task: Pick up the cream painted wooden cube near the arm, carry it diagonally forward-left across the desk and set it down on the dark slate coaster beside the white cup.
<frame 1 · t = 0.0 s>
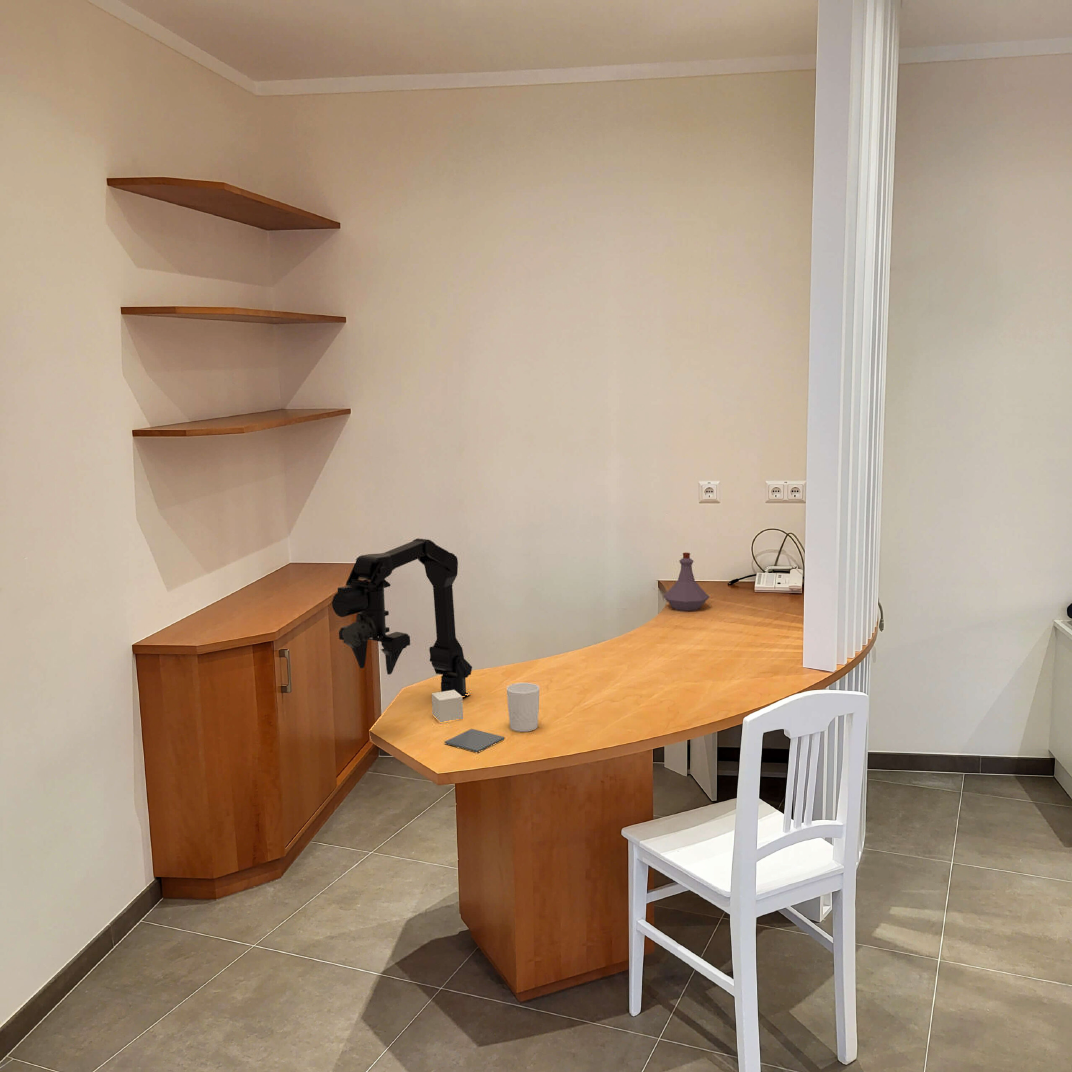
hand: (375, 671, 239), 15 cm above the table, tool pointing down, fingers open, 9 cm apart
cube: (447, 717, 248), on the table
coaster: (474, 741, 232), on the table
flask: (686, 608, 354), on the table
white cup: (523, 727, 241), on the table
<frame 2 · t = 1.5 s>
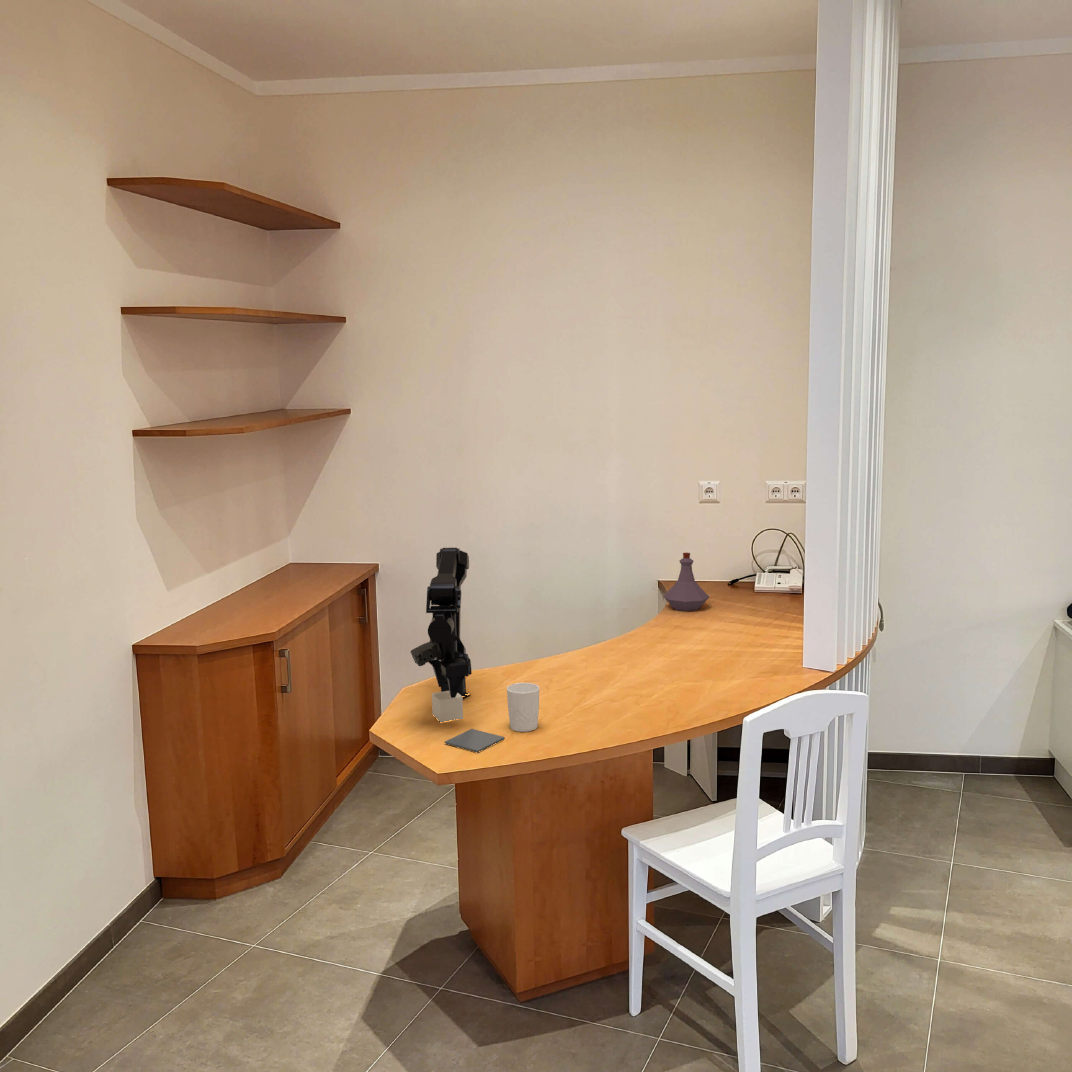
hand: (446, 692, 247), 7 cm above the table, tool pointing down, fingers open, 9 cm apart
nothing on the table moved.
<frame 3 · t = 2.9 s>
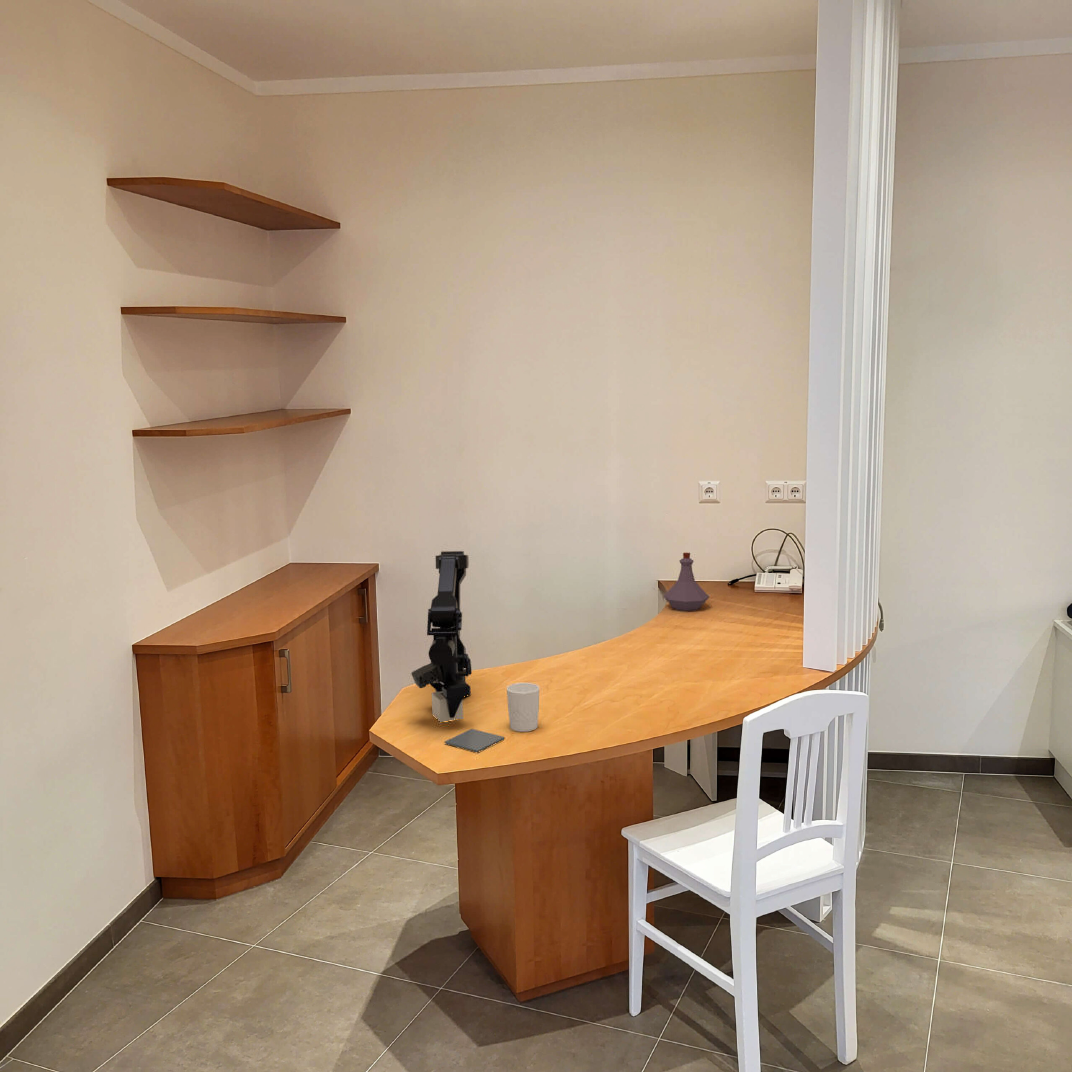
hand: (447, 713, 248), 1 cm above the table, tool pointing down, fingers closed on cube, 6 cm apart
cube: (447, 717, 248), on the table, touching gripper
everything else where it was.
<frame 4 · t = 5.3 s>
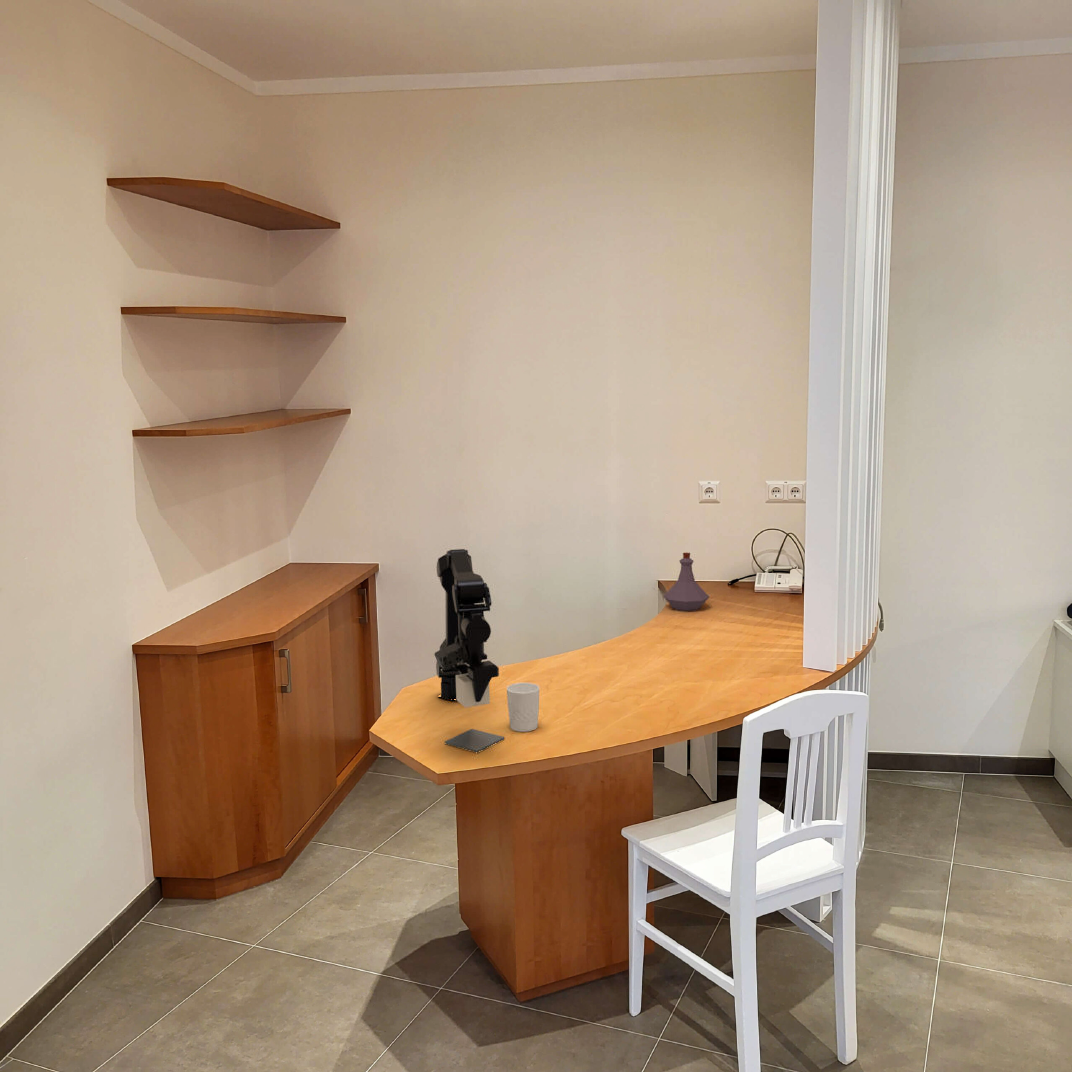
hand: (473, 697, 230), 11 cm above the table, tool pointing down, fingers closed on cube, 6 cm apart
cube: (473, 701, 230), point 10 cm above the table, touching gripper
everything else where it was.
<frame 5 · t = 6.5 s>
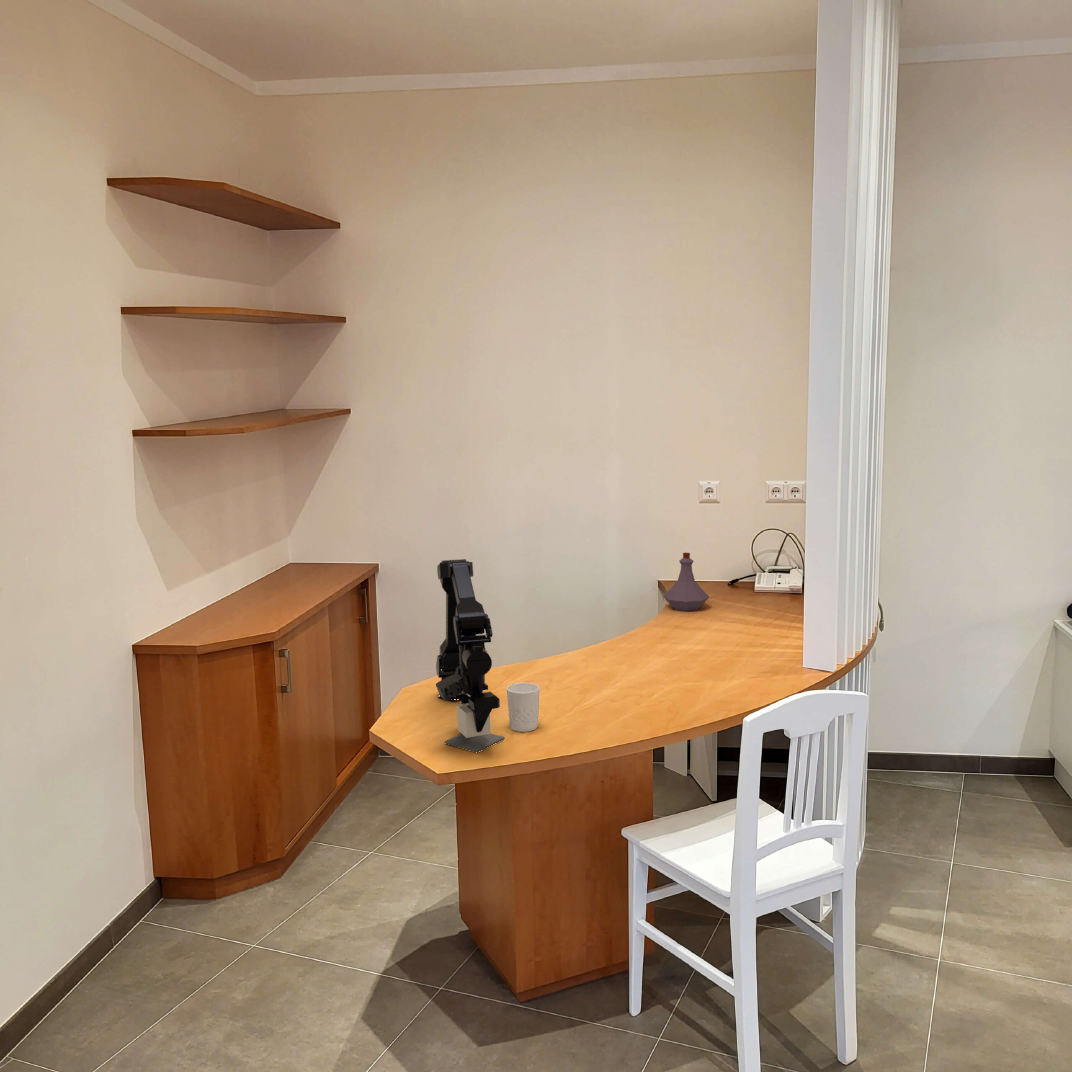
hand: (474, 727, 231), 3 cm above the table, tool pointing down, fingers closed on cube, 6 cm apart
cube: (473, 731, 231), point 3 cm above the table, touching gripper
everything else where it was.
when the fingers open (3 cm above the table, at t = 7.5 s): cube drops 1 cm, resting on coaster.
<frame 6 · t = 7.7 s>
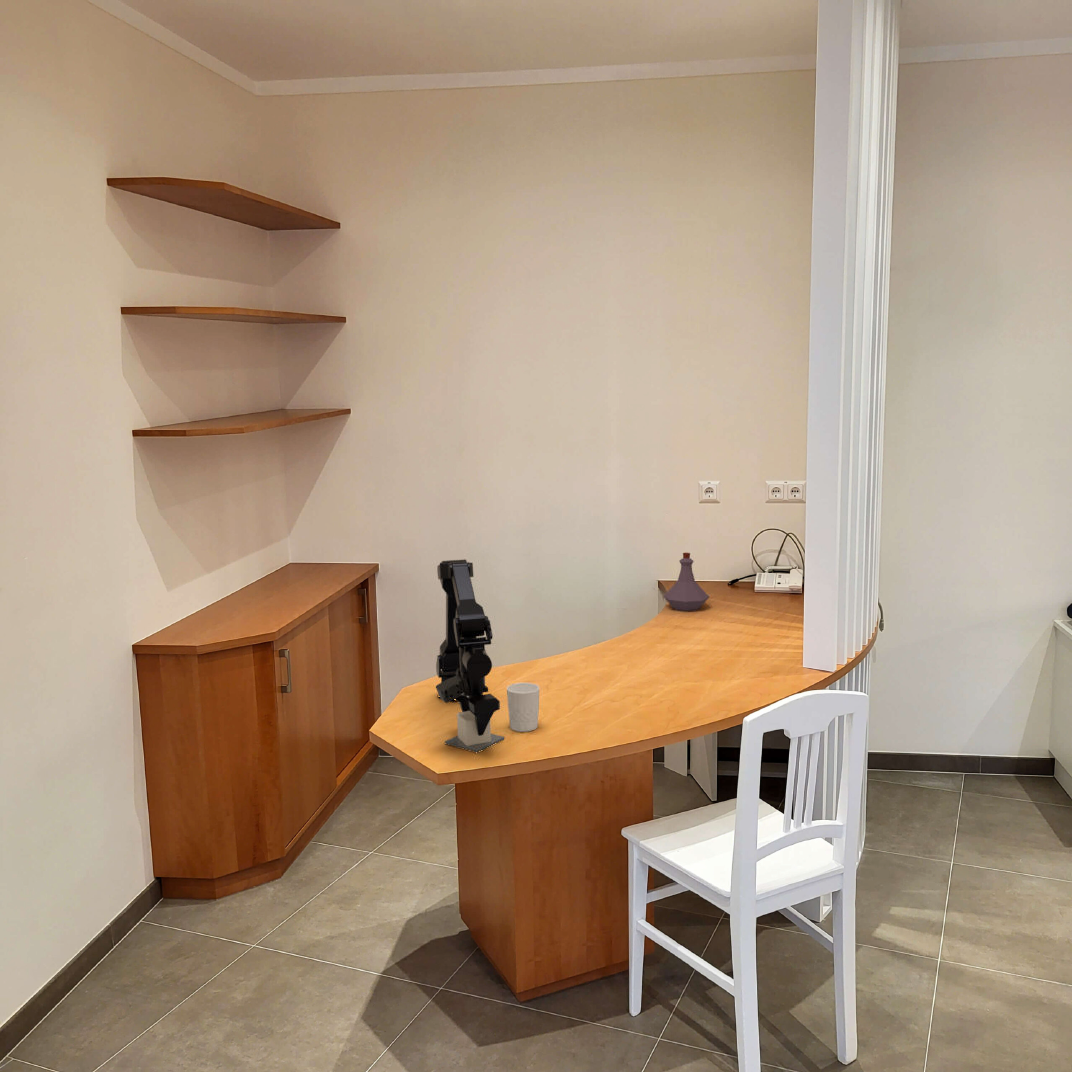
hand: (474, 729, 231), 3 cm above the table, tool pointing down, fingers open, 8 cm apart
cube: (474, 739, 232), point 1 cm above the table, touching coaster
everything else where it was.
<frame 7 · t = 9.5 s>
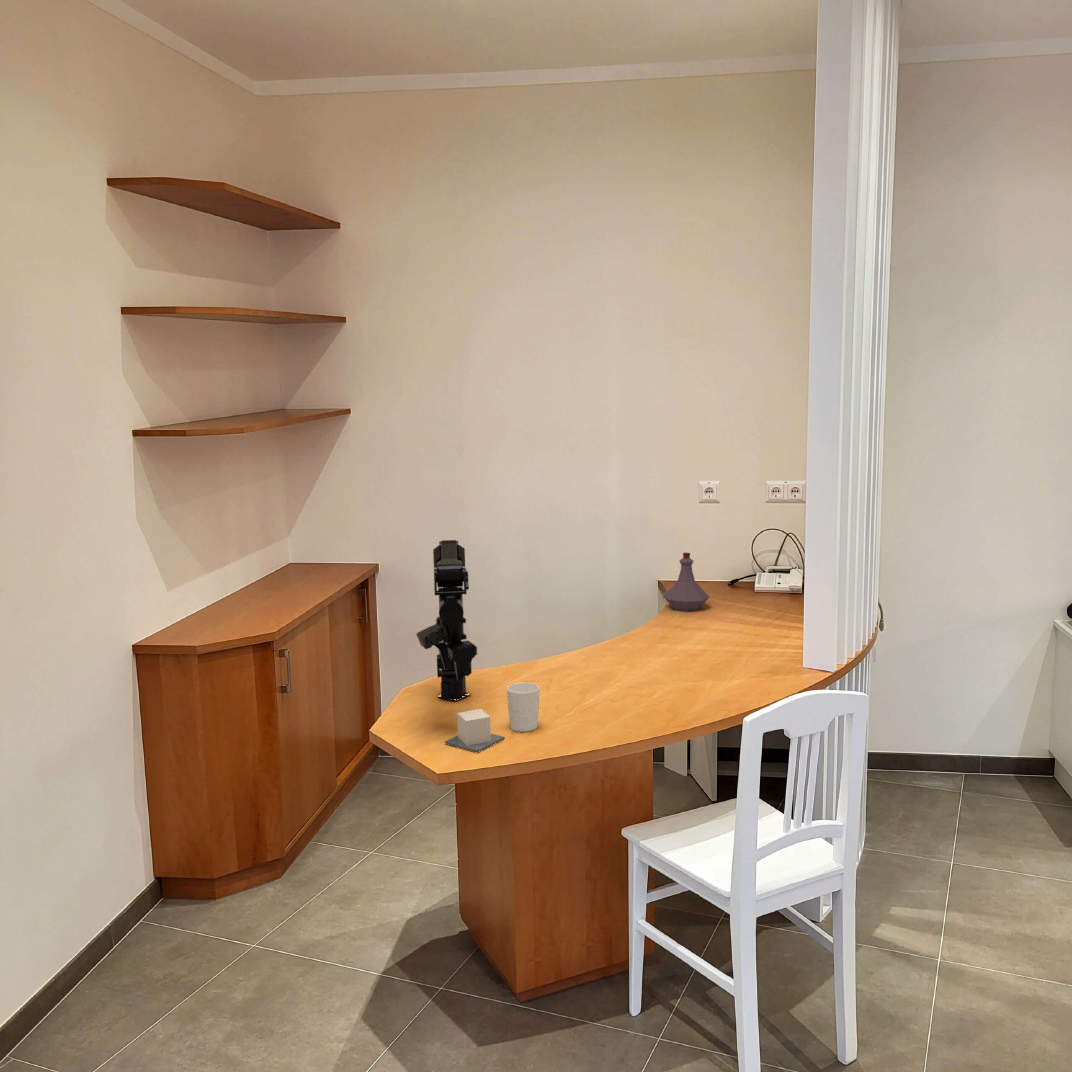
hand: (453, 675, 243), 12 cm above the table, tool pointing down, fingers open, 9 cm apart
nothing on the table moved.
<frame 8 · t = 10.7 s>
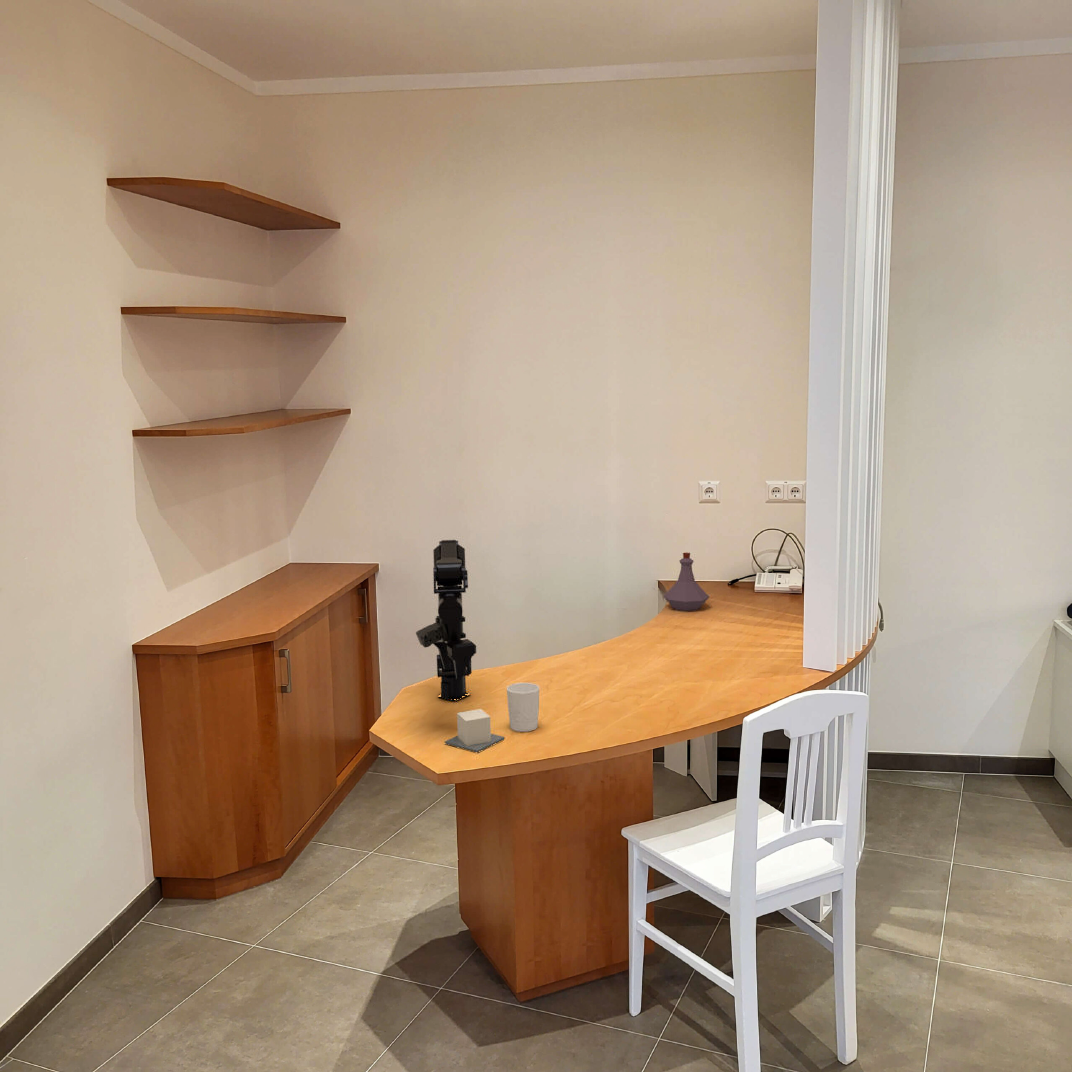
hand: (452, 674, 244), 12 cm above the table, tool pointing down, fingers open, 9 cm apart
nothing on the table moved.
at the end: cube inside the target area on the coaster (0.1 cm from its centre), point 0.6 cm above the coaster's base; cube tilted 0°; the gripper is holding nothing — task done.
